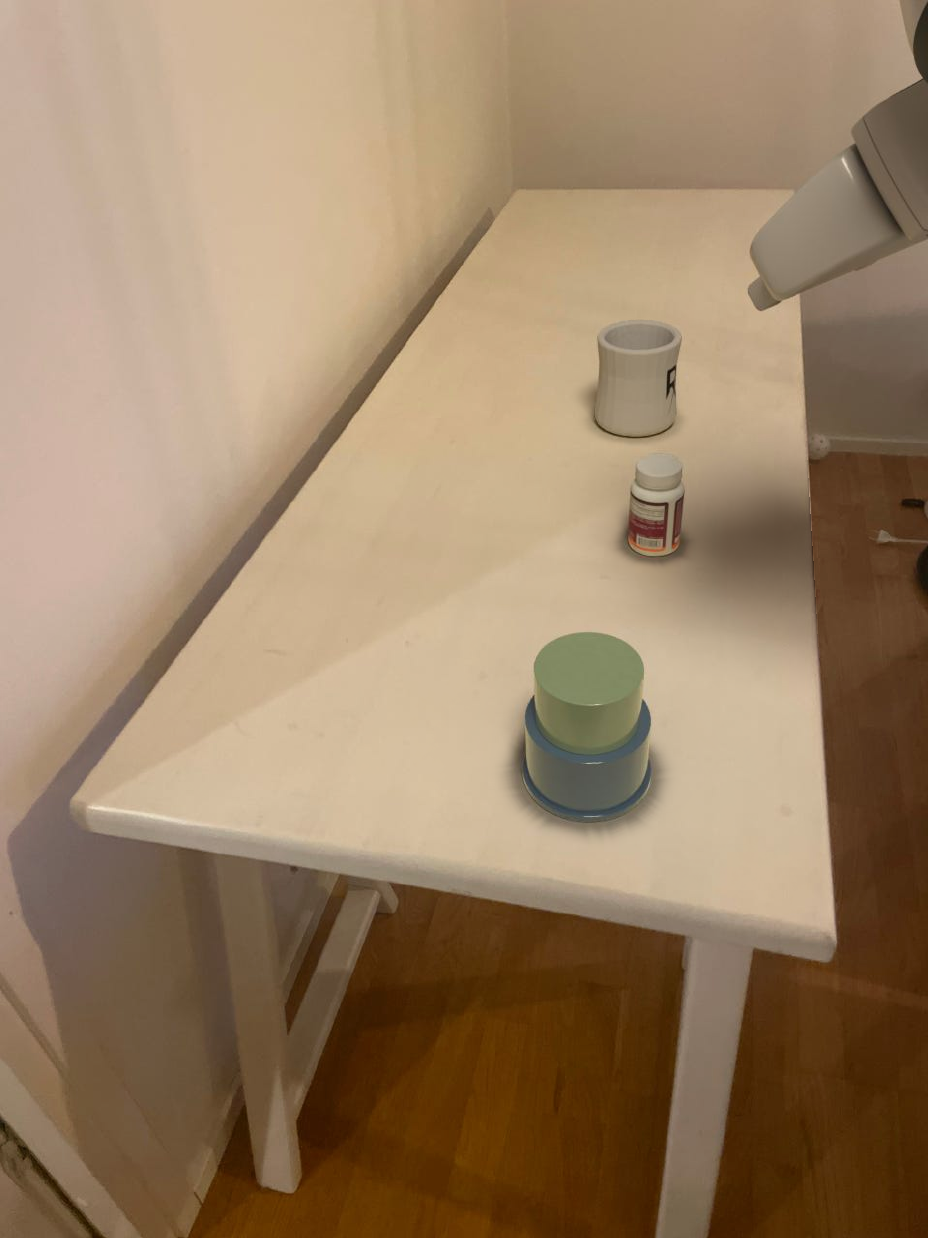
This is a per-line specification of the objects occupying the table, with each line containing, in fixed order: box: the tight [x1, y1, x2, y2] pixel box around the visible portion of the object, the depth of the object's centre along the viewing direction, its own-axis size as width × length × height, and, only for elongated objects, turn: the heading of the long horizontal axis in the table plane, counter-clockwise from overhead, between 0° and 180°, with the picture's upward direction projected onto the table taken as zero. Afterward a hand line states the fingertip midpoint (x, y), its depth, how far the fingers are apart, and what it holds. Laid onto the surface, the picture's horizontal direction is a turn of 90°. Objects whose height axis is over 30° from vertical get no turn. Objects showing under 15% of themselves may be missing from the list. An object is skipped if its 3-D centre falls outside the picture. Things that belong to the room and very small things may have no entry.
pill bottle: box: [627, 452, 686, 557], centre depth 85 cm, size 5×5×8 cm
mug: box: [594, 319, 683, 438], centre depth 104 cm, size 12×9×10 cm
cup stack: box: [521, 631, 652, 823], centre depth 63 cm, size 9×9×10 cm
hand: (808, 277), depth 60 cm, fingers open, 8 cm apart
